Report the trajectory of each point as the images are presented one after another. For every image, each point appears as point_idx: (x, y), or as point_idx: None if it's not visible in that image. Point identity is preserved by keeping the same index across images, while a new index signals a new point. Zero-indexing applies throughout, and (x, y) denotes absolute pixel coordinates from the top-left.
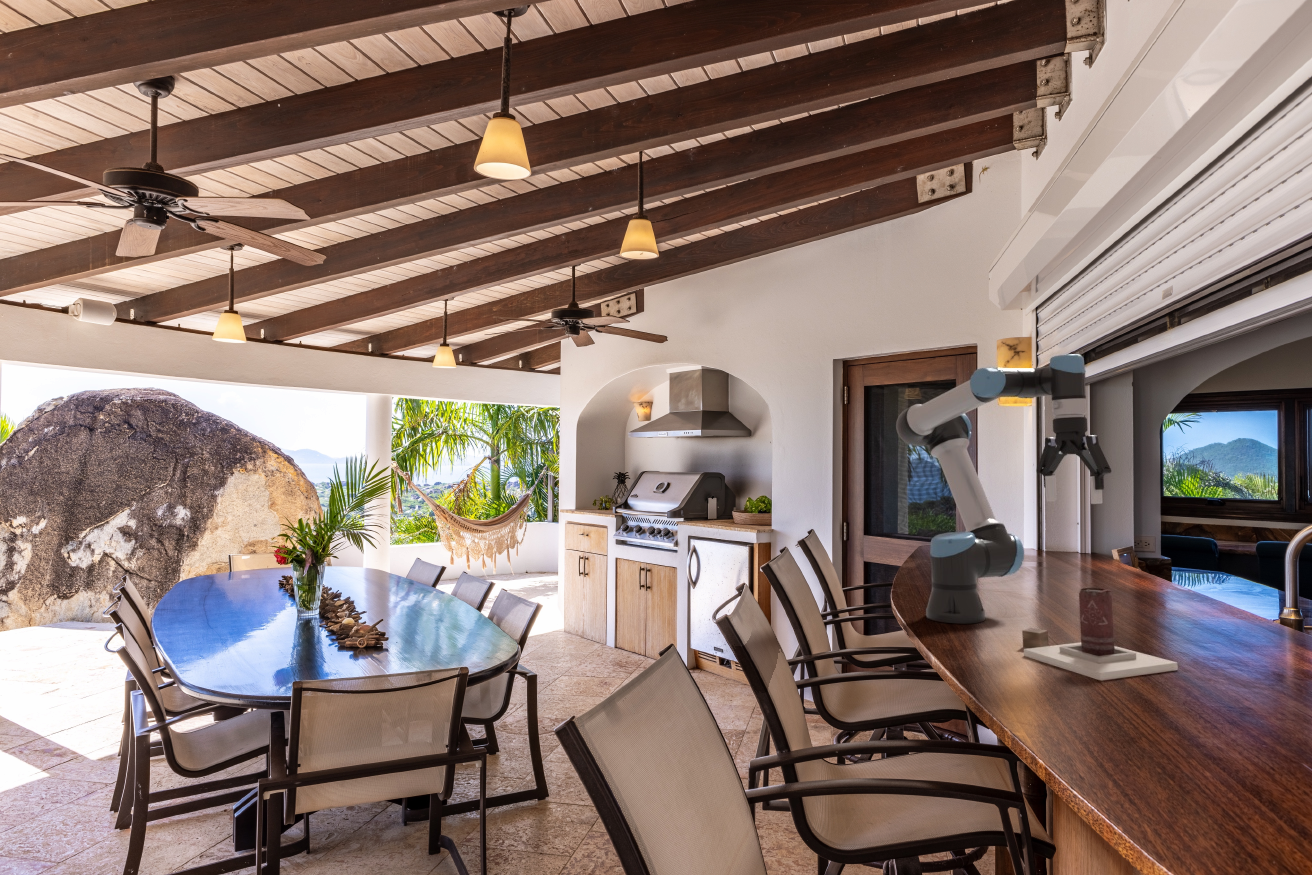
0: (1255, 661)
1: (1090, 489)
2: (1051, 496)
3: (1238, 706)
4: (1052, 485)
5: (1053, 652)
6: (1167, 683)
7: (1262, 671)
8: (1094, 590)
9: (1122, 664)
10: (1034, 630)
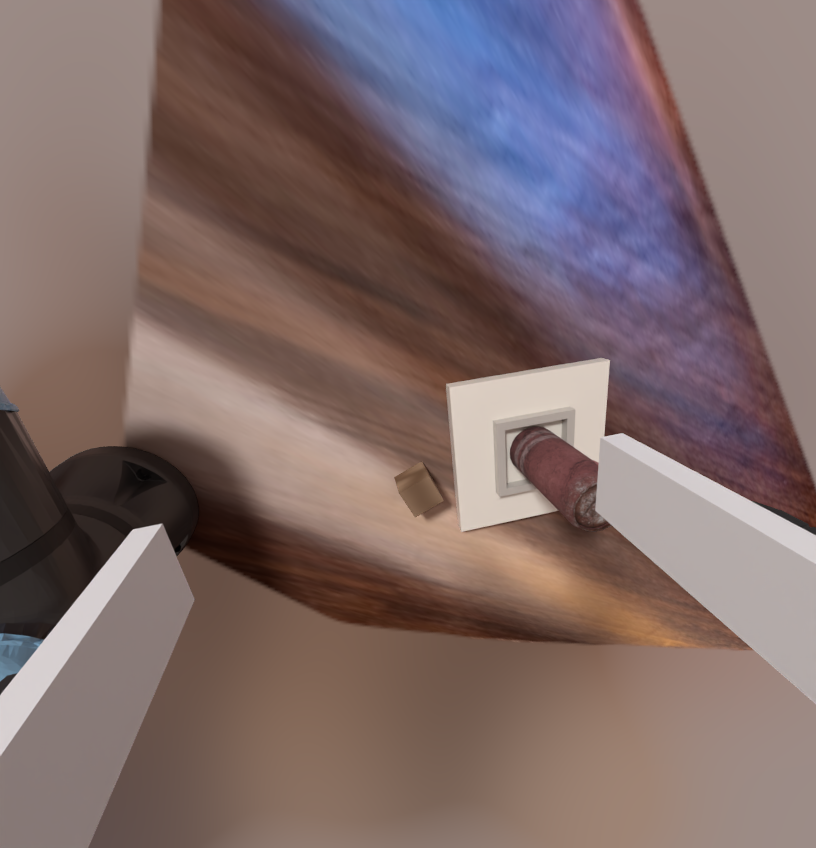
0: (624, 166)
1: (680, 583)
2: (168, 607)
3: (725, 414)
4: (95, 705)
5: (493, 501)
6: (636, 424)
7: (664, 226)
8: (588, 498)
9: (582, 447)
10: (421, 498)
